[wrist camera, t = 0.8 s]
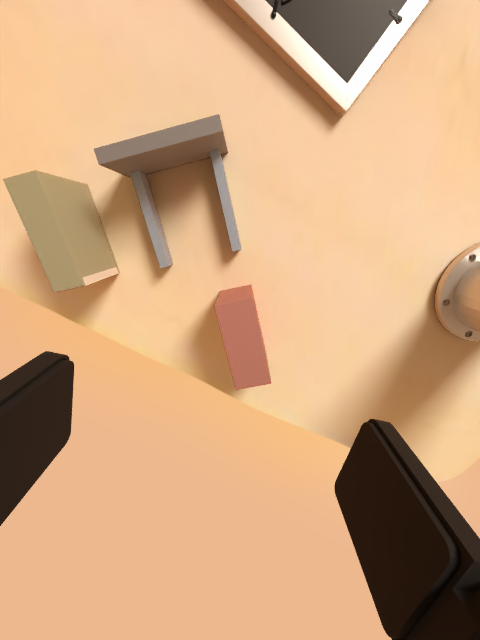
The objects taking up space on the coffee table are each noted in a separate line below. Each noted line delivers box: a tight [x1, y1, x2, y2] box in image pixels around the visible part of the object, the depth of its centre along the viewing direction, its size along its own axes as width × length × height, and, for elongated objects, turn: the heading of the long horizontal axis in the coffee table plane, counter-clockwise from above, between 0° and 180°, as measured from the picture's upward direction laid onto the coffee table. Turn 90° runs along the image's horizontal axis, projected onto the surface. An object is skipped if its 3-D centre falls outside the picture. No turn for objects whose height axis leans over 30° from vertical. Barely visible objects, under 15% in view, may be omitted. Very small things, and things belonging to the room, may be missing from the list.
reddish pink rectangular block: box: [214, 285, 271, 390], centre depth 32 cm, size 4×10×7 cm, turn 13°
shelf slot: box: [94, 114, 241, 268], centre depth 28 cm, size 11×11×7 cm
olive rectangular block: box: [3, 170, 119, 292], centre depth 28 cm, size 3×10×8 cm, turn 13°
